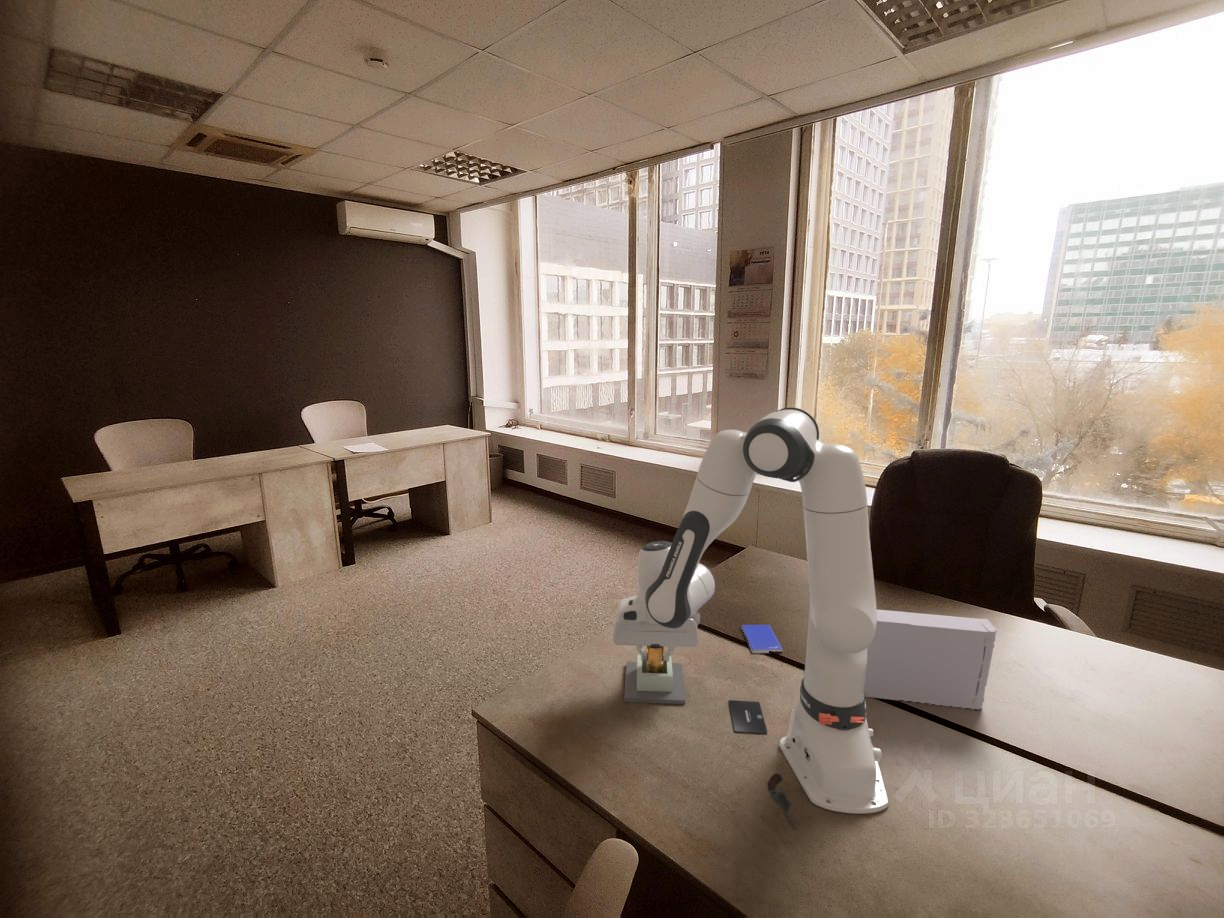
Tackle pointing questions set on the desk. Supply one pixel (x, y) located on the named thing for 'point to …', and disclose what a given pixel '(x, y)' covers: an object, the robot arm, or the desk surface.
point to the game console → (929, 659)
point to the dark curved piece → (780, 795)
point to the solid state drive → (747, 717)
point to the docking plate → (654, 683)
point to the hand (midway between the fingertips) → (654, 659)
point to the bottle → (655, 658)
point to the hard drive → (761, 638)
